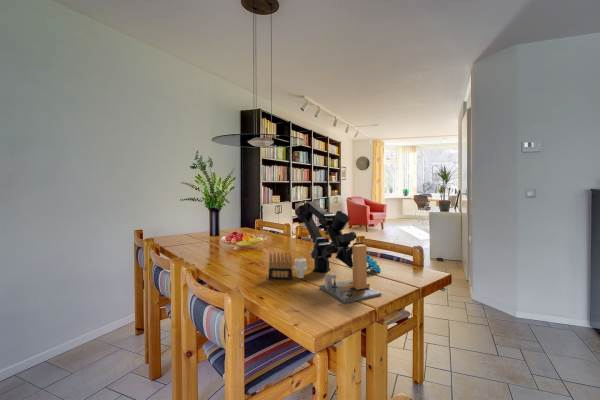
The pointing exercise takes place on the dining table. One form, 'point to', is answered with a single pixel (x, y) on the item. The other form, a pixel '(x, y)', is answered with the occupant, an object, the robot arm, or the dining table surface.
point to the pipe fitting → (300, 267)
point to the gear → (373, 264)
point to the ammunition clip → (276, 270)
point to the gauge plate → (347, 290)
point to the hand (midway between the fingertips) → (351, 267)
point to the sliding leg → (359, 268)
